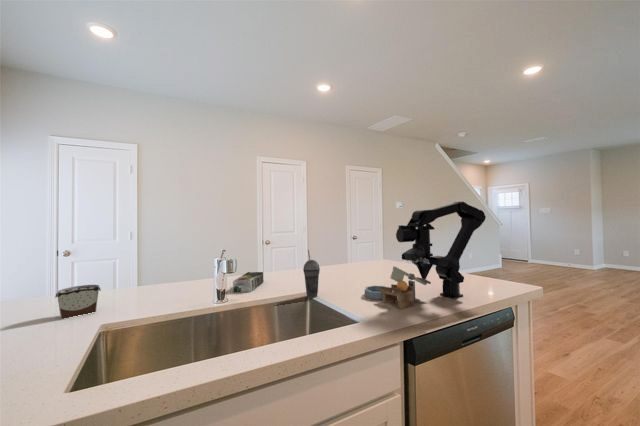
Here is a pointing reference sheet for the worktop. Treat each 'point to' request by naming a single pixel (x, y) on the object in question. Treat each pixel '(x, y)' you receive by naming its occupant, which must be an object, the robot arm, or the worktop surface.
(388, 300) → the ramp
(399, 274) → the lever
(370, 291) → the bowl
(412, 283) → the lever post
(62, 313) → the food container
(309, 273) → the beverage cup
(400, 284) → the ball
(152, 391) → the worktop surface
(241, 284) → the juice carton
